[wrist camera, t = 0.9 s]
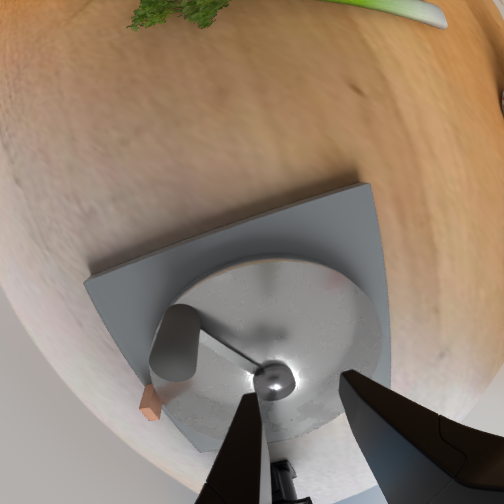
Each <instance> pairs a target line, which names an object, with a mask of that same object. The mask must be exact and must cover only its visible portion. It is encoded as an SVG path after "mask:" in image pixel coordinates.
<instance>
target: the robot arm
mask: <svg viewBox="0 0 504 504" xmlns="http://www.w3.org/2000/svg"><path fill="white" fill-rule="evenodd" d="M339 396H340V399H341V402H342V405H343V407H344V410H345V413H346V416H347V419H348V422H349V424H350V427H351V430H352V433H353V435H354V437H355V439H356V441H357V443H358V445H359V447H360V449H361V451H362V453H363V455H364V457H365V459H366V461H367V463H368V465H369V467H370V469H371V471H372V473H373V475H374V476H375V478H376V480H377V482H378V484H379V486H380V488H381V490H382V492H383V494H384V496H385V498H386V500H387V502H388V504H504V437H502V436H498V435H494V434H490V433H487V432H483V431H480V430H477V429H474V428H471V427H468V426H465V425H462V424H460V423H457V422H455V421H453V420H450V419H448V418H446V417H444V416H442V415H439V416H438V413H435V412H433V411H431V410H429V409H427V408H425V407H423V406H421V405H419V404H417V403H415V402H413V401H411V400H410V399H408V398H406V397H404V396H402V395H400V394H398V393H396V392H394V391H392V390H390V389H389V388H387V387H385V386H383V385H381V384H379V383H377V382H376V381H374V380H372V379H370V378H368V377H366V376H365V375H363V374H361V373H359V372H357V371H356V370H353V369H350V370H347V371H344V372H341V373H340V378H339ZM296 477H297V476H296V474H295V472H294V470H293V469H292V467H291V465H290V464H289V462H288V461H281V462H278V463H274V464H270V458H269V451H268V445H267V440H266V435H265V430H264V425H263V420H262V415H261V410H260V405H259V400H258V395H257V393H256V392H252V393H246V394H243V396H242V398H241V400H240V403H239V405H238V408H237V410H236V412H235V415H234V417H233V420H232V422H231V425H230V427H229V429H228V432H227V434H226V436H225V439H224V441H223V443H222V446H221V448H220V450H219V453H218V455H217V457H216V459H215V462H214V464H213V466H212V468H211V470H210V473H209V475H208V477H207V479H206V482H207V483H204V485H203V488H202V490H201V492H200V494H199V496H198V498H197V500H196V502H195V504H312V501H311V499H310V497H306V498H303V499H299V500H298V499H297V495H296V491H295V488H294V484H293V480H292V479H294V478H296Z"/></svg>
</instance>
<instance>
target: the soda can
mask: <svg viewBox="0 0 504 504" xmlns="http://www.w3.org/2000/svg"><path fill="white" fill-rule="evenodd" d="M502 110H503V114H504V91H503V97H502Z"/></svg>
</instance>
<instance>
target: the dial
mask: <svg viewBox="0 0 504 504" xmlns="http://www.w3.org/2000/svg"><path fill="white" fill-rule="evenodd" d="M381 349H382V329H381V322H380V319H379V316H378V313H377V311H376V309H375V307H374V305H373V304H372V302H371V300H370V299H369V298H368V297H367V295H366V294H365V293H364V292H363V291H362V290H361V289H360V288H359V287H358V286H357V285H355V284H354V283H353V282H352V281H351V280H350V279H348V278H347V277H346V276H345V275H344V274H343V273H341V272H340V271H338V270H337V269H335V268H333V267H332V266H330V265H328V264H326V263H323V262H321V261H319V260H316V259H313V258H309V257H305V256H301V255H295V254H286V253H265V254H258V255H251V256H246V257H242V258H238V259H235V260H231V261H228V262H226V263H223V264H221V265H219V266H216V267H214V268H212V269H210V270H208V271H207V272H205V273H203V274H201V275H200V276H198V277H197V278H195V279H194V280H193V281H192V282H190V283H189V284H188V285H186V286H185V287H184V288H183V289H182V290H181V291H180V292H179V293H178V294H177V295H176V296H175V297H174V299H173V300H172V301H171V303H170V304H169V306H168V307H167V308H166V310H165V312H164V314H163V316H162V318H161V320H160V322H159V325H158V327H157V330H156V333H155V336H154V339H153V342H152V346H151V349H150V356H149V368H150V376H151V380H152V383H153V386H154V389H155V391H156V393H157V395H158V397H159V398H160V400H161V401H162V403H163V404H164V406H165V407H166V408H167V409H168V410H169V411H170V412H171V414H172V415H174V416H175V417H176V418H177V419H178V420H180V421H181V422H182V423H184V424H185V425H187V426H188V427H190V428H192V429H194V430H195V431H197V432H199V433H202V434H204V435H207V436H209V437H212V438H216V439H220V440H223V441H224V439H225V436H226V434H227V432H228V429H229V427H230V425H231V422H232V420H233V417H234V415H235V412H236V410H237V408H238V405H239V403H240V400H241V398H242V396H243V394H246V393H252V392H256V393H257V395H258V400H259V405H260V410H261V415H262V420H263V425H264V430H265V435H266V440H267V443H271V442H277V441H283V440H287V439H291V438H294V437H298V436H301V435H303V434H306V433H309V432H311V431H313V430H315V429H317V428H319V427H321V426H323V425H325V424H327V423H328V422H330V421H332V420H333V419H334V418H336V417H337V416H339V415H340V414H341V413H343V412H344V411H345V410H344V407H343V405H342V402H341V399H340V396H339V378H340V373H341V372H344V371H347V370H350V369H353V370H356V371H357V372H359V373H361V374H363V375H365V376H366V377H368V378H370V379H372V377H373V375H374V373H375V370H376V368H377V365H378V362H379V359H380V355H381Z"/></svg>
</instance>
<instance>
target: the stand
mask: <svg viewBox="0 0 504 504" xmlns="http://www.w3.org/2000/svg"><path fill="white" fill-rule="evenodd" d="M265 253H286V254H295V255H301V256H305V257H309V258H313V259H316V260H319V261H321V262H323V263H326V264H328V265H330V266H332V267H333V268H335V269H337V270H338V271H340V272H341V273H343V274H344V275H345V276H346V277H347V278H348V279H350V280H351V281H352V282H353V283H354V284H355V285H357V286H358V287H359V288H360V289H361V290H362V291H363V292H364V293H365V294H366V295H367V297H368V298H369V299H370V300H371V302H372V304H373V305H374V307H375V309H376V311H377V313H378V316H379V319H380V322H381V329H382V349H381V355H380V359H379V362H378V365H377V368H376V370H375V373H374V375H373V377H372V380H374V381H376V382H377V383H379V384H381V385H383V386H385V387H387V388H389V389H390V390H391V335H390V315H389V301H388V290H387V280H386V271H385V263H384V256H383V249H382V242H381V236H380V230H379V224H378V219H377V214H376V208H375V204H374V199H373V194H372V190H371V185H370V183H365V182H359V183H355V184H352V185H349V186H345V187H342V188H339V189H335V190H332V191H329V192H326V193H322V194H319V195H316V196H313V197H309V198H306V199H303V200H300V201H297V202H294V203H291V204H288V205H284V206H281V207H278V208H275V209H272V210H269V211H266V212H263V213H260V214H257V215H254V216H251V217H248V218H245V219H242V220H239V221H236V222H234V223H231V224H228V225H225V226H222V227H219V228H216V229H213V230H211V231H208V232H205V233H202V234H199V235H197V236H194V237H191V238H188V239H186V240H183V241H180V242H177V243H175V244H172V245H169V246H167V247H164V248H161V249H158V250H156V251H153V252H151V253H148V254H145V255H143V256H140V257H137V258H135V259H132V260H130V261H127V262H124V263H122V264H119V265H117V266H114V267H112V268H109V269H107V270H104V271H102V272H99V273H97V274H94V275H92V276H90V277H89V278H88V279H87V280H86V281H84V282H83V284H84V286H85V288H86V290H87V292H88V294H89V296H90V298H91V300H92V302H93V304H94V306H95V308H96V310H97V312H98V314H99V315H100V317H101V319H102V321H103V323H104V324H105V326H106V328H107V330H108V331H109V333H110V335H111V336H112V338H113V340H114V341H115V343H116V345H117V346H118V348H119V349H120V351H121V353H122V354H123V356H124V357H125V359H126V360H127V362H128V363H129V365H130V366H131V368H132V369H133V371H134V372H135V374H136V375H137V377H138V378H139V379H140V381H141V382H142V384H143V385H144V386H145V389H144V393H143V396H142V400H141V403H140V407H139V410H140V411H141V412H142V413H143V414H144V416H145V417H146V418H147V419H148V420H149V421H153V420H159V419H160V414H161V409H162V410H163V411H164V412H165V414H166V415H167V416H168V417H169V418H170V420H171V421H172V422H173V423H174V424H175V426H176V427H177V428H178V429H179V430H180V431H181V432H182V434H183V435H184V436H185V437H186V438H187V439H188V440H189V441H190V442H191V444H192V445H193V446H194V447H195V448H196V449H197V450H198V451H199V452H200V453H201V452H208V451H214V450H220V448H221V446H222V443H223V440H220V439H216V438H212V437H209V436H207V435H204V434H202V433H199V432H197V431H195V430H194V429H192V428H190V427H188V426H187V425H185V424H184V423H182V422H181V421H180V420H178V419H177V418H176V417H175V416H174V415H172V414H171V412H170V411H169V410H168V409H167V408H166V407H165V406H164V404H163V403H162V401H161V400H160V398H159V397H158V395H157V393H156V391H155V389H154V386H153V383H152V380H151V376H150V368H149V356H150V349H151V346H152V342H153V339H154V336H155V333H156V330H157V327H158V325H159V322H160V320H161V318H162V316H163V314H164V312H165V310H166V308H167V307H168V306H169V304H170V303H171V301H172V300H173V299H174V297H175V296H176V295H177V294H178V293H179V292H180V291H181V290H182V289H183V288H184V287H185V286H186V285H188V284H189V283H190V282H192V281H193V280H194V279H195V278H197V277H198V276H200V275H201V274H203V273H205V272H207V271H208V270H210V269H212V268H214V267H216V266H219V265H221V264H223V263H226V262H228V261H231V260H235V259H238V258H242V257H246V256H251V255H258V254H265ZM344 412H345V411H344ZM344 412H343V413H344ZM341 414H342V413H341Z"/></svg>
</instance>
